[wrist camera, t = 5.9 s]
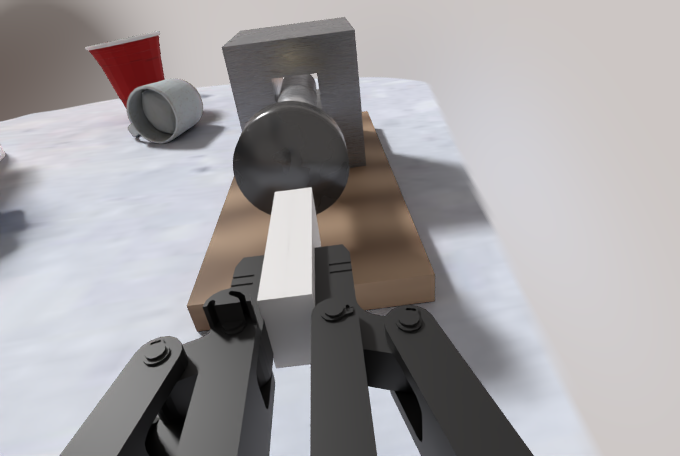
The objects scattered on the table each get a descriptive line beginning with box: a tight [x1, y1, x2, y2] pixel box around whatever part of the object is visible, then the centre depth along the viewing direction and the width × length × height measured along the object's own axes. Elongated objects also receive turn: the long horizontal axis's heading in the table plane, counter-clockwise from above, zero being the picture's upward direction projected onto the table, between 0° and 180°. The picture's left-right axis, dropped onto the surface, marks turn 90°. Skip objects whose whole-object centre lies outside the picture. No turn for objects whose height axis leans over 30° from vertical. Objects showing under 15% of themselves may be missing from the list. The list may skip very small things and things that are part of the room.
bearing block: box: [222, 17, 366, 168], centre depth 39 cm, size 10×10×11 cm
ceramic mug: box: [127, 79, 203, 143], centre depth 57 cm, size 10×8×7 cm
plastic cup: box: [85, 31, 165, 109], centre depth 66 cm, size 11×11×12 cm
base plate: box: [187, 111, 435, 332], centre depth 38 cm, size 32×14×2 cm, turn 4°
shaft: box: [233, 74, 349, 215], centre depth 29 cm, size 18×6×6 cm, turn 4°
